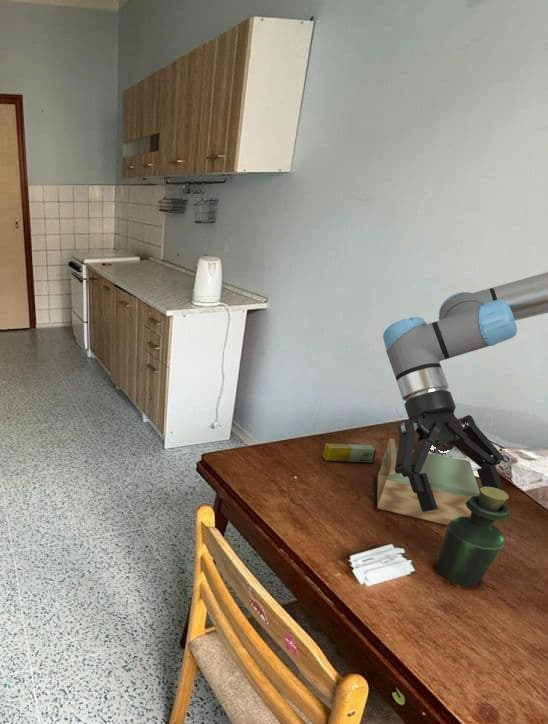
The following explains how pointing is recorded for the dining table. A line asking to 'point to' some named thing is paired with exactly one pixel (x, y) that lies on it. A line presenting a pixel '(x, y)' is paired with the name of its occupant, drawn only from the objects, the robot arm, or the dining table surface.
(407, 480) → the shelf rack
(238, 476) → the dining table surface
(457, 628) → the dining table surface
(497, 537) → the potion bottle
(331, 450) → the medication box
